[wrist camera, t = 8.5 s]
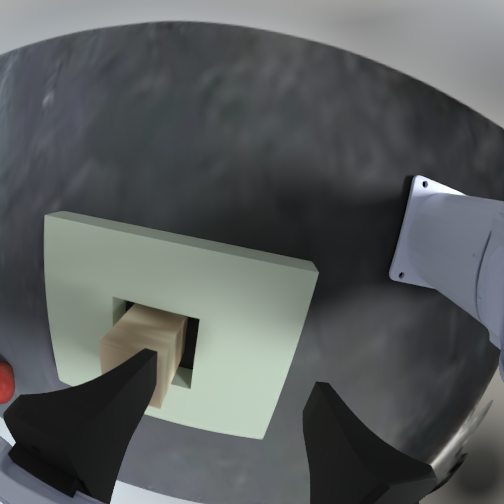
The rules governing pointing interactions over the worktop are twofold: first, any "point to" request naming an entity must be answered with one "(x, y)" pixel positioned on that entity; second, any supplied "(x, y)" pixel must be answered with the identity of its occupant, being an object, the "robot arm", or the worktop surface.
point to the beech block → (147, 343)
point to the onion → (6, 383)
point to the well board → (181, 302)
